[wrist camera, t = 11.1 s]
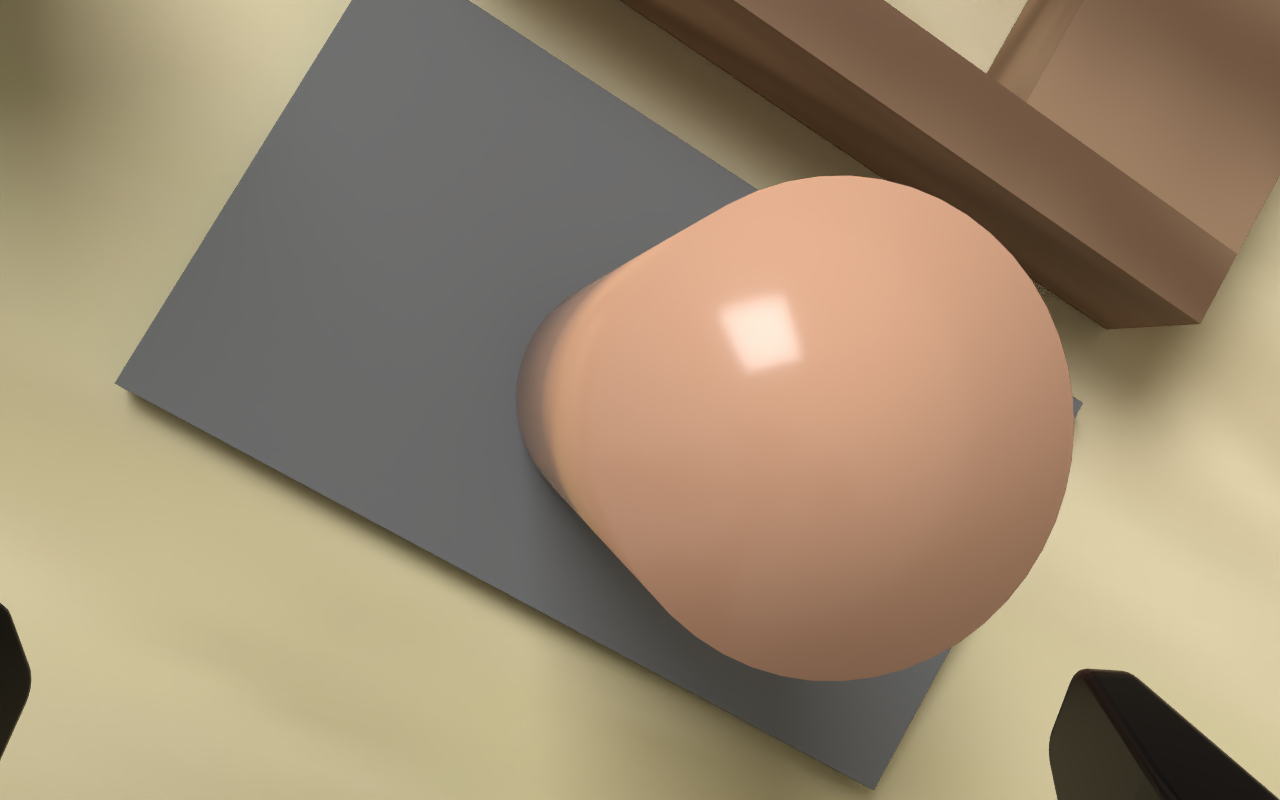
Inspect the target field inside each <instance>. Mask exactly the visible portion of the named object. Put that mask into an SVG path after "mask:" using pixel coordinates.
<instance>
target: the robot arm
mask: <svg viewBox="0 0 1280 800" xmlns="http://www.w3.org/2000/svg"><path fill="white" fill-rule="evenodd" d="M30 688H31V670H30V667H29V664H28V661H27V658H26V655H25V653H24V650H23V647H22V644H21V642H20V639H19V636H18V633H17V631H16V628H15V625H14V623H13V620H12V617H11V614H10V613H9V611H8V609H7V608H6V607H4V606H3V605H2V604H1V603H0V759H1V757H2V755H3V753H4V751H5V748H6V746H7V744H8V742H9V740H10V737H11V735H12V733H13V731H14V728H15V726H16V724H17V722H18V720H19V717H20V715H21V713H22V711H23V708H24V706H25V704H26V702H27V699H28V696H29V692H30ZM1049 758H1050V765H1051V770H1052V775H1053V780H1054V785H1055V790H1056V794H1057V799H1058V800H1280V799H1278V798H1277V797H1276V796H1275V795H1274V794H1273V793H1271V792H1270V791H1269V790H1268V789H1267V788H1266V787H1264V786H1263V785H1262V784H1261V783H1260V782H1259V781H1257V780H1256V779H1255V778H1254V777H1253V776H1252V775H1250V774H1249V773H1248V772H1247V771H1246V770H1245V769H1243V768H1242V767H1241V766H1240V765H1239V764H1237V763H1236V762H1235V761H1234V760H1233V759H1232V758H1230V757H1229V756H1228V755H1227V754H1226V753H1225V752H1223V751H1222V750H1221V749H1220V748H1219V747H1218V746H1216V745H1215V744H1214V743H1213V742H1212V741H1211V740H1209V739H1208V738H1207V737H1206V736H1205V735H1204V734H1202V733H1201V732H1200V731H1199V730H1198V729H1197V728H1195V727H1194V726H1193V725H1192V724H1191V723H1190V722H1188V721H1187V720H1186V719H1185V718H1184V717H1183V716H1181V715H1180V714H1179V713H1178V712H1177V711H1176V710H1174V709H1173V708H1172V707H1171V706H1170V705H1169V704H1167V703H1166V702H1165V701H1164V700H1163V699H1162V698H1160V697H1159V696H1158V695H1157V694H1156V693H1155V692H1153V691H1152V690H1151V689H1150V688H1149V687H1148V686H1146V685H1145V684H1144V683H1143V682H1142V681H1141V680H1139V679H1138V678H1137V677H1135V676H1134V675H1132V674H1130V673H1128V672H1124V671H1116V670H1100V669H1083V670H1080V671H1078V672H1077V673H1076V674H1075V675H1074V676H1073V678H1072V680H1071V682H1070V685H1069V687H1068V690H1067V693H1066V695H1065V698H1064V700H1063V703H1062V706H1061V708H1060V711H1059V714H1058V716H1057V719H1056V721H1055V724H1054V727H1053V729H1052V732H1051V736H1050V742H1049Z"/></svg>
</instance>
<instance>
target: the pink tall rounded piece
mask: <svg viewBox="0 0 1280 800" xmlns="http://www.w3.org/2000/svg"><path fill="white" fill-rule="evenodd" d="M516 410H517V418H518V423H519V429H520V433H521V435H522V438H523V441H524V444H525V447H526V449H527V451H528V453H529V455H530V457H531V459H532V461H533V463H534V464H535V466H536V467H537V469H538V470H539V472H540V473H541V475H542V476H543V477H544V478H545V479H546V480H547V481H548V483H549V484H550V485H551V486H552V487H553V488H554V489H555V490H556V491H557V493H558V494H559V495H560V496H561V497H562V498H563V499H564V500H565V501H566V502H567V503H568V504H569V506H570V507H571V508H572V509H573V510H574V511H575V512H576V513H577V514H578V515H579V516H580V517H581V519H582V520H583V521H584V522H585V523H586V524H587V525H588V526H589V527H590V528H591V529H592V530H593V532H594V533H595V534H596V535H597V536H598V537H599V538H600V539H601V540H602V541H603V542H604V543H605V545H606V546H607V547H608V548H609V549H610V550H611V551H612V552H613V553H614V554H615V555H616V556H617V558H618V559H619V560H620V561H621V562H622V563H623V564H624V565H625V566H626V567H627V568H628V569H629V570H630V572H631V573H632V574H633V575H634V576H635V577H636V578H637V579H638V580H639V581H640V582H641V583H642V585H643V586H644V587H645V588H646V589H647V590H648V591H649V592H650V593H651V594H652V595H653V596H654V598H655V599H656V600H657V601H658V602H659V603H660V604H661V605H662V606H663V607H664V608H665V609H666V611H667V612H668V613H669V614H670V615H671V616H672V617H673V618H675V619H676V620H677V621H678V622H679V623H680V624H682V625H683V626H684V627H685V628H686V629H687V630H689V631H690V632H691V633H692V634H693V635H694V636H696V637H697V638H699V639H700V640H702V641H703V642H705V643H707V644H708V645H710V646H711V647H713V648H714V649H716V650H717V651H719V652H721V653H722V654H724V655H726V656H729V657H731V658H733V659H735V660H737V661H739V662H742V663H744V664H746V665H748V666H750V667H753V668H756V669H760V670H763V671H766V672H770V673H773V674H776V675H780V676H785V677H791V678H798V679H804V680H811V681H848V680H856V679H864V678H872V677H877V676H881V675H885V674H888V673H892V672H896V671H900V670H904V669H906V668H909V667H911V666H913V665H916V664H918V663H921V662H923V661H925V660H928V659H930V658H933V657H934V656H936V655H938V654H940V653H941V652H943V651H945V650H947V649H948V648H950V647H952V646H954V645H955V644H957V643H959V642H960V641H962V640H963V639H964V638H965V637H967V636H968V635H969V634H971V633H972V632H973V631H975V630H976V629H977V628H979V627H980V626H981V625H983V624H984V623H985V622H986V621H987V620H988V619H989V618H990V617H991V616H992V615H993V614H994V613H995V612H996V611H997V610H998V609H999V608H1000V607H1001V606H1002V605H1003V604H1004V603H1005V602H1006V601H1007V600H1008V599H1009V598H1010V596H1011V595H1012V594H1013V593H1014V591H1015V590H1016V589H1017V588H1018V586H1019V585H1020V584H1021V583H1022V581H1023V580H1024V579H1025V578H1026V576H1027V575H1028V573H1029V571H1030V570H1031V568H1032V566H1033V565H1034V563H1035V562H1036V560H1037V558H1038V557H1039V555H1040V553H1041V552H1042V550H1043V548H1044V546H1045V544H1046V541H1047V539H1048V537H1049V535H1050V533H1051V531H1052V528H1053V526H1054V524H1055V522H1056V519H1057V516H1058V513H1059V510H1060V507H1061V504H1062V501H1063V497H1064V494H1065V491H1066V486H1067V481H1068V476H1069V471H1070V466H1071V461H1072V449H1073V436H1074V415H1073V396H1072V389H1071V383H1070V377H1069V370H1068V365H1067V362H1066V358H1065V355H1064V351H1063V348H1062V344H1061V341H1060V337H1059V334H1058V332H1057V330H1056V327H1055V325H1054V323H1053V320H1052V318H1051V315H1050V313H1049V311H1048V308H1047V306H1046V305H1045V303H1044V301H1043V299H1042V298H1041V296H1040V294H1039V292H1038V291H1037V289H1036V287H1035V286H1034V284H1033V282H1032V280H1031V279H1030V278H1029V276H1028V275H1027V274H1026V272H1025V271H1024V270H1023V268H1022V267H1021V266H1020V265H1019V263H1018V262H1017V261H1016V259H1015V258H1014V257H1013V255H1012V254H1011V253H1010V252H1009V251H1008V250H1007V249H1006V248H1005V247H1004V246H1003V245H1002V244H1001V243H1000V242H999V241H998V240H997V239H996V238H995V237H994V236H993V235H992V234H991V233H990V232H988V231H987V230H986V229H985V228H983V227H982V226H981V225H979V224H978V223H977V222H976V221H974V220H973V219H972V218H970V217H969V216H968V215H967V214H965V213H963V212H961V211H960V210H958V209H956V208H955V207H953V206H951V205H949V204H948V203H946V202H944V201H943V200H941V199H939V198H936V197H934V196H932V195H929V194H927V193H924V192H922V191H920V190H917V189H915V188H912V187H909V186H905V185H901V184H898V183H894V182H890V181H886V180H882V179H875V178H867V177H858V176H818V177H811V178H805V179H799V180H793V181H787V182H784V183H781V184H778V185H774V186H771V187H768V188H765V189H762V190H758V191H756V192H753V193H751V194H749V195H747V196H745V197H743V198H741V199H739V200H736V201H734V202H732V203H730V204H728V205H726V206H724V207H723V208H721V209H719V210H717V211H716V212H714V213H712V214H710V215H709V216H707V217H705V218H703V219H702V220H700V221H698V222H696V223H695V224H693V225H691V226H689V227H688V228H686V229H684V230H682V231H681V232H679V233H677V234H675V235H674V236H672V237H670V238H668V239H667V240H665V241H663V242H661V243H660V244H658V245H656V246H654V247H653V248H651V249H649V250H647V251H646V252H644V253H642V254H641V255H639V256H637V257H635V258H634V259H632V260H630V261H628V262H627V263H625V264H623V265H621V266H620V267H618V268H616V269H614V270H613V271H611V272H609V273H607V274H606V275H604V276H602V277H600V278H599V279H597V280H595V281H593V282H592V283H590V284H588V285H586V286H585V287H583V288H581V289H579V290H578V291H576V292H575V293H573V294H572V295H570V296H569V297H567V298H566V299H564V300H563V301H562V302H561V303H560V304H559V305H557V306H556V307H555V308H554V309H553V310H552V311H551V312H550V313H549V314H548V316H547V317H546V318H545V319H544V320H543V321H542V323H541V324H540V325H539V327H538V328H537V330H536V331H535V333H534V334H533V336H532V338H531V340H530V342H529V344H528V346H527V348H526V350H525V353H524V356H523V359H522V362H521V365H520V369H519V374H518V379H517V388H516Z"/></svg>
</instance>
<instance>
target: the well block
mask: <svg viewBox="0 0 1280 800" xmlns="http://www.w3.org/2000/svg"><path fill="white" fill-rule="evenodd" d="M621 1H623V2H624V3H625V4H627V5H628V6H630V7H631V8H633V9H634V10H636V11H637V12H639V13H640V14H642V15H643V16H645V17H646V18H648V19H649V20H651V21H652V22H654V23H655V24H656V25H658V26H659V27H661V28H662V29H664V30H665V31H667V32H668V33H670V34H671V35H673V36H674V37H676V38H677V39H679V40H680V41H682V42H683V43H685V44H686V45H688V46H689V47H690V48H692V49H693V50H695V51H696V52H698V53H699V54H701V55H702V56H704V57H705V58H707V59H708V60H710V61H711V62H713V63H714V64H716V65H717V66H719V67H720V68H722V69H723V70H724V71H726V72H727V73H729V74H730V75H732V76H733V77H735V78H736V79H738V80H739V81H741V82H742V83H744V84H745V85H747V86H748V87H750V88H751V89H753V90H754V91H755V92H757V93H758V94H760V95H761V96H763V97H764V98H766V99H767V100H769V101H770V102H772V103H773V104H775V105H776V106H778V107H779V108H781V109H782V110H784V111H785V112H787V113H788V114H789V115H791V116H792V117H794V118H795V119H797V120H798V121H800V122H801V123H803V124H804V125H806V126H807V127H809V128H810V129H812V130H813V131H815V132H816V133H818V134H819V135H820V136H822V137H823V138H825V139H826V140H828V141H829V142H831V143H832V144H834V145H835V146H837V147H838V148H840V149H841V150H843V151H844V152H846V153H847V154H849V155H850V156H852V157H853V158H854V159H856V160H857V161H859V162H860V163H862V164H863V165H865V166H866V167H868V168H869V169H871V170H872V171H874V172H875V173H877V174H878V175H880V176H881V177H883V178H884V179H885V180H887V181H890V182H894V183H898V184H901V185H905V186H909V187H912V188H915V189H917V190H920V191H922V192H924V193H927V194H929V195H932V196H934V197H936V198H939V199H941V200H943V201H944V202H946V203H948V204H949V205H951V206H953V207H955V208H956V209H958V210H960V211H961V212H963V213H965V214H967V215H968V216H969V217H970V218H972V219H973V220H974V221H976V222H977V223H978V224H979V225H981V226H982V227H983V228H985V229H986V230H987V231H988V232H990V233H991V234H992V235H993V236H994V237H995V238H996V239H997V240H998V241H999V242H1000V243H1001V244H1002V245H1003V246H1004V247H1005V248H1006V249H1007V250H1008V251H1009V252H1010V253H1011V254H1012V255H1013V257H1014V258H1015V259H1016V261H1017V262H1018V263H1019V265H1020V266H1021V267H1022V268H1023V270H1024V271H1025V272H1026V274H1027V275H1028V276H1029V277H1030V278H1032V279H1033V280H1035V281H1036V282H1038V283H1039V284H1041V285H1042V286H1044V287H1045V288H1047V289H1048V290H1049V291H1051V292H1052V293H1054V294H1055V295H1057V296H1058V297H1060V298H1061V299H1063V300H1064V301H1066V302H1067V303H1069V304H1070V305H1072V306H1073V307H1075V308H1076V309H1078V310H1079V311H1081V312H1082V313H1083V314H1085V315H1086V316H1088V317H1089V318H1091V319H1092V320H1094V321H1095V322H1097V323H1098V324H1100V325H1101V326H1103V327H1104V328H1106V329H1118V328H1135V327H1153V326H1170V325H1187V324H1200V323H1201V321H1202V319H1203V318H1204V316H1205V314H1206V312H1207V310H1208V308H1209V306H1210V304H1211V303H1212V301H1213V299H1214V297H1215V295H1216V293H1217V291H1218V289H1219V288H1220V286H1221V284H1222V282H1223V280H1224V278H1225V276H1226V274H1227V273H1228V271H1229V269H1230V267H1231V265H1232V263H1233V261H1234V259H1235V258H1236V256H1237V254H1238V252H1239V250H1240V248H1241V246H1242V244H1243V243H1244V241H1245V239H1246V237H1247V235H1248V233H1249V231H1250V229H1251V228H1252V226H1253V224H1254V222H1255V220H1256V218H1257V216H1258V214H1259V213H1260V211H1261V209H1262V207H1263V205H1264V203H1265V201H1266V199H1267V198H1268V196H1269V194H1270V192H1271V190H1272V188H1273V186H1274V184H1275V183H1276V181H1277V179H1278V177H1279V175H1280V0H1028V1H1027V3H1026V5H1025V7H1024V8H1023V10H1022V12H1021V14H1020V16H1019V17H1018V19H1017V21H1016V23H1015V24H1014V26H1013V28H1012V30H1011V32H1010V33H1009V35H1008V37H1007V39H1006V40H1005V42H1004V44H1003V46H1002V48H1001V49H1000V51H999V53H998V55H997V56H996V58H995V60H994V62H993V64H992V65H991V67H990V69H989V71H988V72H987V74H986V73H984V72H983V71H982V70H980V69H979V68H977V67H976V66H975V65H973V64H972V63H970V62H969V61H968V60H966V59H965V58H964V57H962V56H961V55H959V54H958V53H957V52H955V51H954V50H952V49H951V48H950V47H948V46H947V45H945V44H944V43H943V42H941V41H940V40H938V39H937V38H936V37H934V36H933V35H931V34H930V33H929V32H927V31H926V30H924V29H923V28H922V27H920V26H919V25H918V24H916V23H915V22H913V21H912V20H911V19H909V18H908V17H906V16H905V15H904V14H902V13H901V12H899V11H898V10H897V9H895V8H894V7H892V6H891V5H890V4H888V3H887V2H885V1H884V0H621Z"/></svg>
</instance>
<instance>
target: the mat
mask: <svg viewBox="0 0 1280 800" xmlns="http://www.w3.org/2000/svg"><path fill="white" fill-rule="evenodd" d="M756 191H758V190H757V189H756V188H754V187H753V186H751V185H749V184H748V183H746V182H745V181H743V180H742V179H740V178H739V177H737V176H736V175H734V174H733V173H731V172H730V171H728V170H727V169H725V168H724V167H722V166H720V165H719V164H717V163H716V162H714V161H713V160H711V159H710V158H708V157H707V156H705V155H704V154H702V153H701V152H699V151H698V150H696V149H695V148H693V147H692V146H690V145H688V144H687V143H685V142H684V141H682V140H681V139H679V138H678V137H676V136H675V135H673V134H672V133H670V132H669V131H667V130H666V129H664V128H663V127H661V126H659V125H658V124H656V123H655V122H653V121H652V120H650V119H649V118H647V117H646V116H644V115H643V114H641V113H640V112H638V111H637V110H635V109H634V108H632V107H630V106H629V105H627V104H626V103H624V102H623V101H621V100H620V99H618V98H617V97H615V96H614V95H612V94H611V93H609V92H608V91H606V90H605V89H603V88H601V87H600V86H598V85H597V84H595V83H594V82H592V81H591V80H589V79H588V78H586V77H585V76H583V75H582V74H580V73H579V72H577V71H576V70H574V69H573V68H571V67H569V66H568V65H566V64H565V63H563V62H562V61H560V60H559V59H557V58H556V57H554V56H553V55H551V54H550V53H548V52H547V51H545V50H544V49H542V48H540V47H539V46H537V45H536V44H534V43H533V42H531V41H530V40H528V39H527V38H525V37H524V36H522V35H521V34H519V33H518V32H516V31H515V30H513V29H511V28H510V27H508V26H507V25H505V24H504V23H502V22H501V21H499V20H498V19H496V18H495V17H493V16H492V15H490V14H489V13H487V12H486V11H484V10H482V9H481V8H479V7H478V6H476V5H475V4H473V3H472V2H470V1H469V0H352V1H351V3H350V4H349V6H348V7H347V9H346V11H345V12H344V14H343V15H342V17H341V19H340V20H339V22H338V24H337V25H336V27H335V28H334V30H333V32H332V33H331V35H330V36H329V38H328V40H327V41H326V43H325V45H324V46H323V48H322V49H321V51H320V53H319V54H318V56H317V57H316V59H315V61H314V62H313V64H312V66H311V67H310V69H309V70H308V72H307V74H306V75H305V77H304V78H303V80H302V82H301V83H300V85H299V87H298V88H297V90H296V91H295V93H294V95H293V96H292V98H291V99H290V101H289V103H288V104H287V106H286V108H285V109H284V111H283V112H282V114H281V116H280V117H279V119H278V120H277V122H276V124H275V125H274V127H273V129H272V130H271V132H270V133H269V135H268V137H267V138H266V140H265V141H264V143H263V145H262V146H261V148H260V149H259V151H258V153H257V154H256V156H255V158H254V159H253V161H252V162H251V164H250V166H249V167H248V169H247V170H246V172H245V174H244V175H243V177H242V179H241V180H240V182H239V183H238V185H237V187H236V188H235V190H234V191H233V193H232V195H231V196H230V198H229V200H228V201H227V203H226V204H225V206H224V208H223V209H222V211H221V212H220V214H219V216H218V217H217V219H216V221H215V222H214V224H213V225H212V227H211V229H210V230H209V232H208V233H207V235H206V237H205V238H204V240H203V242H202V243H201V245H200V246H199V248H198V250H197V251H196V253H195V254H194V256H193V258H192V259H191V261H190V263H189V264H188V266H187V267H186V269H185V271H184V272H183V274H182V275H181V277H180V279H179V280H178V282H177V283H176V285H175V287H174V288H173V290H172V292H171V293H170V295H169V296H168V298H167V300H166V301H165V303H164V304H163V306H162V308H161V309H160V311H159V313H158V314H157V316H156V317H155V319H154V321H153V322H152V324H151V325H150V327H149V329H148V330H147V332H146V334H145V335H144V337H143V338H142V340H141V342H140V343H139V345H138V346H137V348H136V350H135V351H134V353H133V355H132V356H131V358H130V359H129V361H128V363H127V364H126V366H125V367H124V369H123V371H122V372H121V374H120V376H119V377H118V379H117V380H116V382H115V384H117V385H119V386H121V387H122V388H124V389H126V390H128V391H130V392H132V393H134V394H135V395H137V396H139V397H141V398H143V399H145V400H147V401H149V402H150V403H152V404H154V405H156V406H158V407H160V408H162V409H163V410H165V411H167V412H169V413H171V414H173V415H175V416H177V417H178V418H180V419H182V420H184V421H186V422H188V423H190V424H191V425H193V426H195V427H197V428H199V429H201V430H203V431H204V432H206V433H208V434H210V435H212V436H214V437H216V438H218V439H219V440H221V441H223V442H225V443H227V444H229V445H231V446H232V447H234V448H236V449H238V450H240V451H242V452H244V453H245V454H247V455H249V456H251V457H253V458H255V459H257V460H259V461H260V462H262V463H264V464H266V465H268V466H270V467H272V468H273V469H275V470H277V471H279V472H281V473H283V474H285V475H287V476H288V477H290V478H292V479H294V480H296V481H298V482H300V483H301V484H303V485H305V486H307V487H309V488H311V489H313V490H314V491H316V492H318V493H320V494H322V495H324V496H326V497H328V498H329V499H331V500H333V501H335V502H337V503H339V504H341V505H342V506H344V507H346V508H348V509H350V510H352V511H354V512H355V513H357V514H359V515H361V516H363V517H365V518H367V519H369V520H370V521H372V522H374V523H376V524H378V525H380V526H382V527H383V528H385V529H387V530H389V531H391V532H393V533H395V534H397V535H398V536H400V537H402V538H404V539H406V540H408V541H410V542H411V543H413V544H415V545H417V546H419V547H421V548H423V549H424V550H426V551H428V552H430V553H432V554H434V555H436V556H438V557H439V558H441V559H443V560H445V561H447V562H449V563H451V564H452V565H454V566H456V567H458V568H460V569H462V570H464V571H465V572H467V573H469V574H471V575H473V576H475V577H477V578H479V579H480V580H482V581H484V582H486V583H488V584H490V585H492V586H493V587H495V588H497V589H499V590H501V591H503V592H505V593H507V594H508V595H510V596H512V597H514V598H516V599H518V600H520V601H521V602H523V603H525V604H527V605H529V606H531V607H533V608H534V609H536V610H538V611H540V612H542V613H544V614H546V615H548V616H549V617H551V618H553V619H555V620H557V621H559V622H561V623H562V624H564V625H566V626H568V627H570V628H572V629H574V630H576V631H577V632H579V633H581V634H583V635H585V636H587V637H589V638H590V639H592V640H594V641H596V642H598V643H600V644H602V645H603V646H605V647H607V648H609V649H611V650H613V651H615V652H617V653H618V654H620V655H622V656H624V657H626V658H628V659H630V660H631V661H633V662H635V663H637V664H639V665H641V666H643V667H644V668H646V669H648V670H650V671H652V672H654V673H656V674H658V675H659V676H661V677H663V678H665V679H667V680H669V681H671V682H672V683H674V684H676V685H678V686H680V687H682V688H684V689H686V690H687V691H689V692H691V693H693V694H695V695H697V696H699V697H700V698H702V699H704V700H706V701H708V702H710V703H712V704H713V705H715V706H717V707H719V708H721V709H723V710H725V711H727V712H728V713H730V714H732V715H734V716H736V717H738V718H740V719H741V720H743V721H745V722H747V723H749V724H751V725H753V726H754V727H756V728H758V729H760V730H762V731H764V732H766V733H768V734H769V735H771V736H773V737H775V738H777V739H779V740H781V741H782V742H784V743H786V744H788V745H790V746H792V747H794V748H796V749H797V750H799V751H801V752H803V753H805V754H807V755H809V756H810V757H812V758H814V759H816V760H818V761H820V762H822V763H823V764H825V765H827V766H829V767H831V768H833V769H835V770H837V771H838V772H840V773H842V774H844V775H846V776H848V777H850V778H851V779H853V780H855V781H857V782H859V783H861V784H863V785H864V786H866V787H868V788H870V789H872V790H874V789H875V787H876V786H877V784H878V782H879V780H880V778H881V776H882V774H883V773H884V771H885V769H886V767H887V765H888V763H889V761H890V760H891V758H892V756H893V754H894V752H895V750H896V748H897V747H898V745H899V743H900V741H901V739H902V737H903V736H904V734H905V732H906V730H907V728H908V726H909V724H910V723H911V721H912V719H913V717H914V715H915V713H916V711H917V710H918V708H919V706H920V704H921V702H922V700H923V698H924V697H925V695H926V693H927V691H928V689H929V687H930V685H931V684H932V682H933V680H934V678H935V676H936V674H937V673H938V671H939V669H940V667H941V665H942V663H943V661H944V660H945V658H946V656H947V654H948V652H949V650H950V648H951V647H950V648H948V649H947V650H945V651H943V652H941V653H940V654H938V655H936V656H934V657H933V658H930V659H928V660H925V661H923V662H921V663H918V664H916V665H913V666H911V667H909V668H906V669H904V670H900V671H896V672H892V673H888V674H885V675H881V676H877V677H872V678H864V679H856V680H848V681H811V680H804V679H798V678H791V677H785V676H780V675H776V674H773V673H770V672H766V671H763V670H760V669H756V668H753V667H750V666H748V665H746V664H744V663H742V662H739V661H737V660H735V659H733V658H731V657H729V656H726V655H724V654H722V653H721V652H719V651H717V650H716V649H714V648H713V647H711V646H710V645H708V644H707V643H705V642H703V641H702V640H700V639H699V638H697V637H696V636H694V635H693V634H692V633H691V632H690V631H689V630H687V629H686V628H685V627H684V626H683V625H682V624H680V623H679V622H678V621H677V620H676V619H675V618H673V617H672V616H671V615H670V614H669V613H668V612H667V611H666V609H665V608H664V607H663V606H662V605H661V604H660V603H659V602H658V601H657V600H656V599H655V598H654V596H653V595H652V594H651V593H650V592H649V591H648V590H647V589H646V588H645V587H644V586H643V585H642V583H641V582H640V581H639V580H638V579H637V578H636V577H635V576H634V575H633V574H632V573H631V572H630V570H629V569H628V568H627V567H626V566H625V565H624V564H623V563H622V562H621V561H620V560H619V559H618V558H617V556H616V555H615V554H614V553H613V552H612V551H611V550H610V549H609V548H608V547H607V546H606V545H605V543H604V542H603V541H602V540H601V539H600V538H599V537H598V536H597V535H596V534H595V533H594V532H593V530H592V529H591V528H590V527H589V526H588V525H587V524H586V523H585V522H584V521H583V520H582V519H581V517H580V516H579V515H578V514H577V513H576V512H575V511H574V510H573V509H572V508H571V507H570V506H569V504H568V503H567V502H566V501H565V500H564V499H563V498H562V497H561V496H560V495H559V494H558V493H557V491H556V490H555V489H554V488H553V487H552V486H551V485H550V484H549V483H548V481H547V480H546V479H545V478H544V477H543V476H542V475H541V473H540V472H539V470H538V469H537V467H536V466H535V464H534V463H533V461H532V459H531V457H530V455H529V453H528V451H527V449H526V447H525V444H524V441H523V438H522V435H521V433H520V429H519V423H518V418H517V410H516V388H517V379H518V374H519V369H520V365H521V362H522V359H523V356H524V353H525V350H526V348H527V346H528V344H529V342H530V340H531V338H532V336H533V334H534V333H535V331H536V330H537V328H538V327H539V325H540V324H541V323H542V321H543V320H544V319H545V318H546V317H547V316H548V314H549V313H550V312H551V311H552V310H553V309H554V308H555V307H556V306H557V305H559V304H560V303H561V302H562V301H563V300H564V299H566V298H567V297H569V296H570V295H572V294H573V293H575V292H576V291H578V290H579V289H581V288H583V287H585V286H586V285H588V284H590V283H592V282H593V281H595V280H597V279H599V278H600V277H602V276H604V275H606V274H607V273H609V272H611V271H613V270H614V269H616V268H618V267H620V266H621V265H623V264H625V263H627V262H628V261H630V260H632V259H634V258H635V257H637V256H639V255H641V254H642V253H644V252H646V251H647V250H649V249H651V248H653V247H654V246H656V245H658V244H660V243H661V242H663V241H665V240H667V239H668V238H670V237H672V236H674V235H675V234H677V233H679V232H681V231H682V230H684V229H686V228H688V227H689V226H691V225H693V224H695V223H696V222H698V221H700V220H702V219H703V218H705V217H707V216H709V215H710V214H712V213H714V212H716V211H717V210H719V209H721V208H723V207H724V206H726V205H728V204H730V203H732V202H734V201H736V200H739V199H741V198H743V197H745V196H747V195H749V194H751V193H753V192H756ZM1082 404H1083V403H1082V402H1081V401H1079V400H1078V399H1076V398H1074V397H1073V415H1074V419H1075V417H1076V415H1077V413H1078V411H1079V409H1080V407H1081V406H1082Z"/></svg>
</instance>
